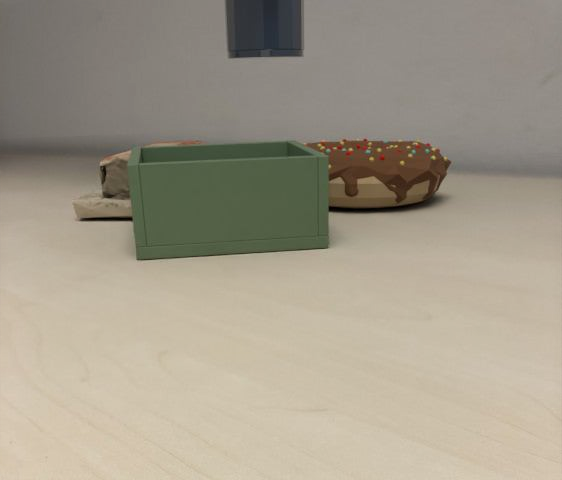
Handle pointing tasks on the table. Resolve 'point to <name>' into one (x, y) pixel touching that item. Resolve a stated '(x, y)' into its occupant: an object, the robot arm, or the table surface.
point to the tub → (228, 198)
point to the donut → (381, 172)
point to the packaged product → (113, 187)
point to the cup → (264, 29)
